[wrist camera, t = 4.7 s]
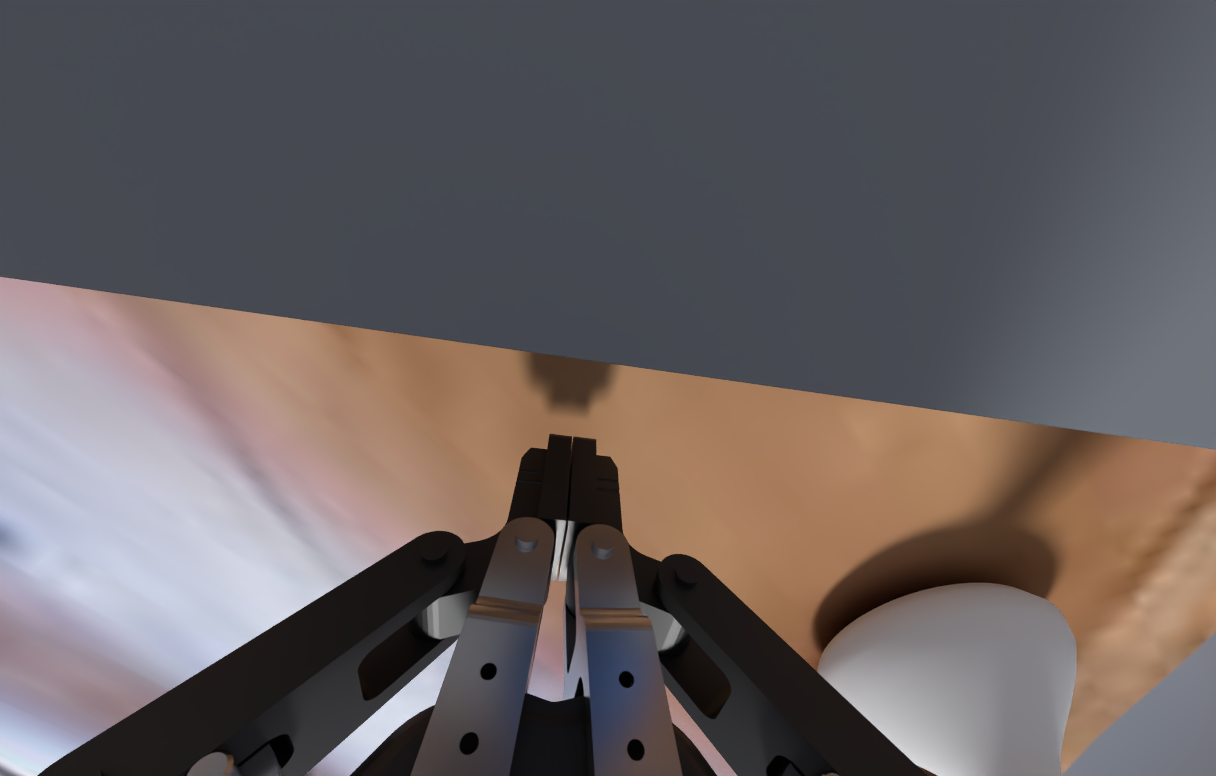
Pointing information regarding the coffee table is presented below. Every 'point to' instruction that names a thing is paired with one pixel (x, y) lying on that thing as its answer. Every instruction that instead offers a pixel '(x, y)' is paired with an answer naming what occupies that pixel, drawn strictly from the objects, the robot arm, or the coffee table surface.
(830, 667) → the flower in vase
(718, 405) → the coffee table surface
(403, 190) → the gray arch
